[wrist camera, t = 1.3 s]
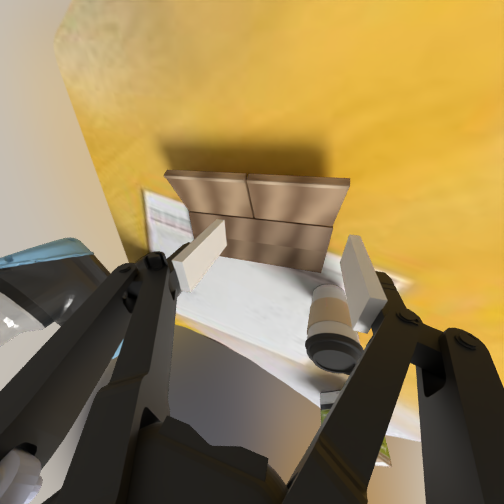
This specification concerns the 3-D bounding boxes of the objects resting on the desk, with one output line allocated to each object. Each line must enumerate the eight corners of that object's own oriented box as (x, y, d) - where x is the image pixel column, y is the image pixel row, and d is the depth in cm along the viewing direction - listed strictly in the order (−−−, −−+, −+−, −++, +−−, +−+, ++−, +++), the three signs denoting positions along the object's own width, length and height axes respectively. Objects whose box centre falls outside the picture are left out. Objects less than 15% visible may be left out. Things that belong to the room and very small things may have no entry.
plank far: (191, 206, 38) (188, 211, 37) (167, 169, 30) (163, 175, 29) (254, 212, 34) (252, 218, 34) (246, 173, 26) (243, 180, 26)
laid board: (199, 249, 44) (197, 252, 43) (191, 210, 38) (188, 212, 37) (320, 269, 37) (321, 272, 36) (332, 225, 32) (333, 228, 31)
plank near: (256, 212, 34) (254, 218, 34) (248, 173, 26) (246, 180, 26) (332, 220, 31) (332, 227, 31) (350, 178, 23) (349, 186, 23)
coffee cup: (300, 299, 44) (295, 363, 32) (319, 274, 38) (322, 340, 26) (336, 314, 43) (344, 385, 31) (360, 291, 38) (382, 366, 26)
